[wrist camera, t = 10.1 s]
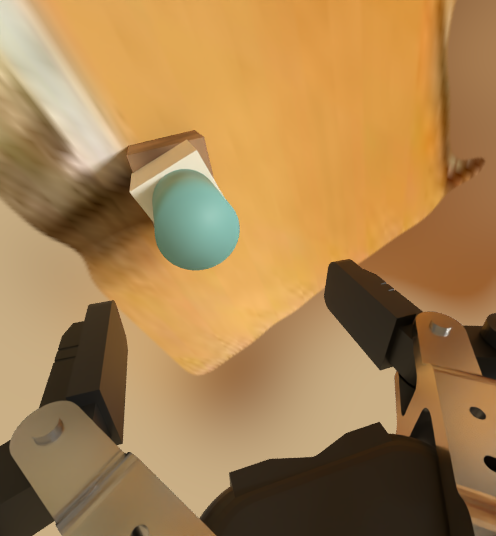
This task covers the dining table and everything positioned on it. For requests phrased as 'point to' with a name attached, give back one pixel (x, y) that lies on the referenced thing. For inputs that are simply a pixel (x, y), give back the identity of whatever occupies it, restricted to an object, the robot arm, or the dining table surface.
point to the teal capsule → (193, 221)
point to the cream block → (158, 168)
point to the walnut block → (165, 149)
